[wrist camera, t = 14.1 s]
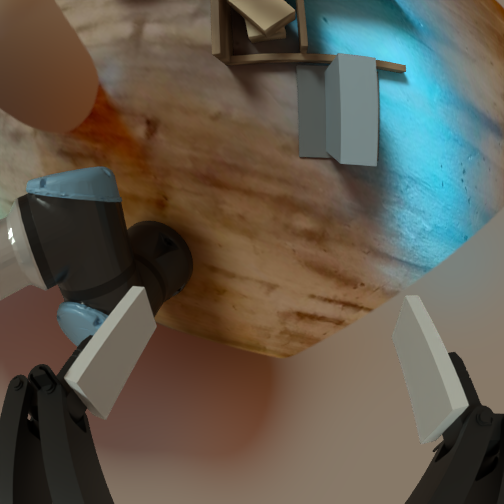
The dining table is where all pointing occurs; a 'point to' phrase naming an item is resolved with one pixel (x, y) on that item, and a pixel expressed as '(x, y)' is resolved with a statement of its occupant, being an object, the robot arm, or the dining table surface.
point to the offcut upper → (264, 14)
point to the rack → (224, 53)
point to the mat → (314, 111)
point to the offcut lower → (259, 37)
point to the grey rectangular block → (352, 109)
